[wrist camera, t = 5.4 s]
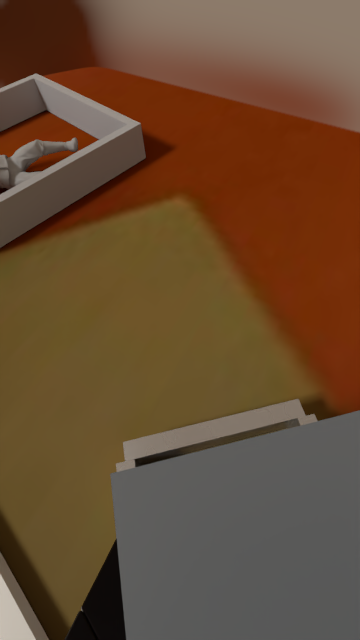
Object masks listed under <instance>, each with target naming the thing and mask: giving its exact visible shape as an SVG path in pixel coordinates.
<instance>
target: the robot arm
mask: <svg viewBox="0 0 360 640" xmlns="http://www.w3.org/2000/svg"><path fill="white" fill-rule="evenodd" d="M81 610H82V611H79V613H78V614H77V616H76V618H75V620H74V622H73V624H72V626H71V628H70V630H69V632H68V634H67V636H66V638H65V640H126V632H125V621H124V611H123V600H122V590H121V579H120V569H119V558H118V548H117V538H116V540H115V542H114V544H113V546H112V548H111V550H110V552H109V554H108V556H107V558H106V560H105V562H104V564H103V566H102V568H101V570H100V572H99V574H98V576H97V578H96V580H95V582H94V583H93V585H92V587H91V589H90V591H89V593H88V595H87V597H86V599H85V601H84V603H83V605H82V607H81Z"/></svg>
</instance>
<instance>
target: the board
mask: <svg viewBox="0 0 360 640" xmlns="http://www.w3.org/2000/svg"><path fill="white" fill-rule="evenodd" d="M0 640H49V639H48V637H47V635H46V633H45V631H44V630H43V628H42V626H41V624H40V622H39V621H38V619H37V617H36V615H35V613H34V612H33V610H32V608H31V606H30V604H29V603H28V601H27V599H26V597H25V595H24V594H23V592H22V590H21V588H20V586H19V585H18V583H17V581H16V579H15V577H14V576H13V574H12V572H11V570H10V568H9V567H8V565H7V563H6V561H5V559H4V558H3V556H2V554H1V552H0Z"/></svg>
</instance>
